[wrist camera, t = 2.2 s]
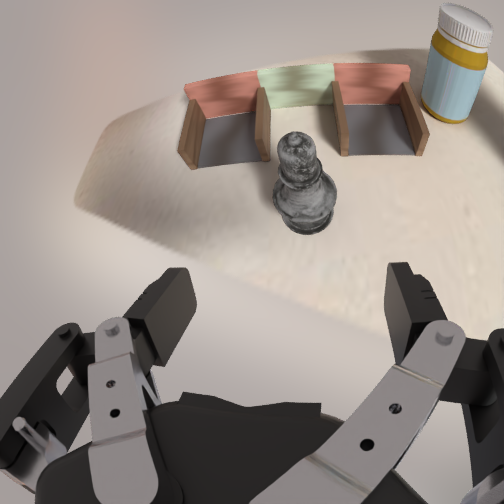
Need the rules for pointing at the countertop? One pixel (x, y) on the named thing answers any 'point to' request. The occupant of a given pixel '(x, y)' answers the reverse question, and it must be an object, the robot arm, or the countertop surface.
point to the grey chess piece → (303, 186)
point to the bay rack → (302, 94)
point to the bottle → (456, 63)
